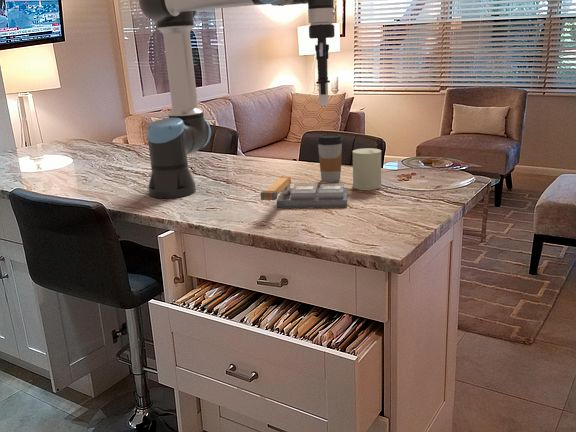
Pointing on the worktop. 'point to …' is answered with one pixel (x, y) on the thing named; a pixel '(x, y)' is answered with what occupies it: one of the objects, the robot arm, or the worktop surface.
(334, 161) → the coffee cup
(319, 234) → the worktop surface
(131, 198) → the worktop surface
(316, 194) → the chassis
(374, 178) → the can
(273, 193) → the bar
